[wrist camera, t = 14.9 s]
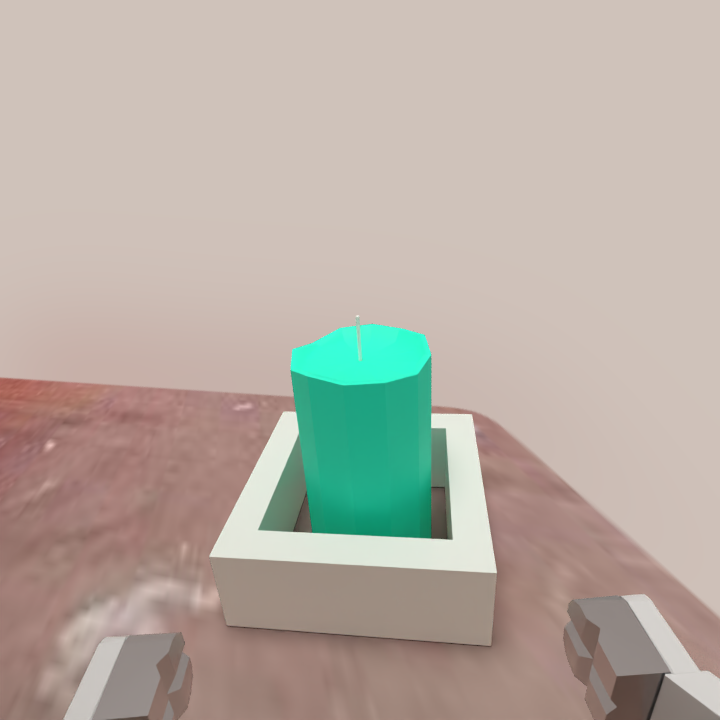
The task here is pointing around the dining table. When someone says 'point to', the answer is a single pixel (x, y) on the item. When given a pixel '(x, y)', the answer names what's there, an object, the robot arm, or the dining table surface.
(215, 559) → the frame
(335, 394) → the candle
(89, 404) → the dining table surface
